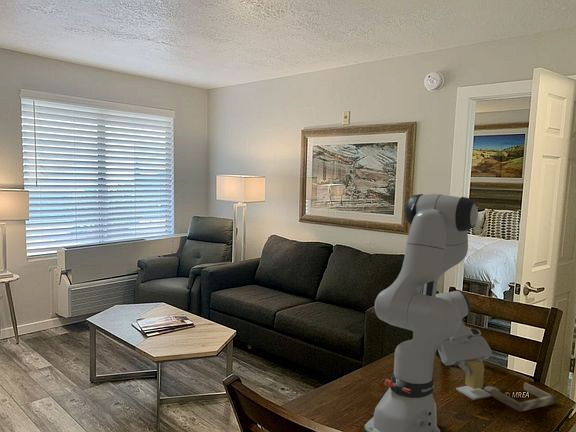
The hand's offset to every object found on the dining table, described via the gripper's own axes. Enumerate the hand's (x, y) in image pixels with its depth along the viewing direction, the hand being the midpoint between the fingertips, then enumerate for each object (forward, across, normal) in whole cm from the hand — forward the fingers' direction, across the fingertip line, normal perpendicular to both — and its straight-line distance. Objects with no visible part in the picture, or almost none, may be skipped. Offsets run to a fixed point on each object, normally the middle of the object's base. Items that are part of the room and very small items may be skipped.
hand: (476, 373), depth 152 cm
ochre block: (+3, 0, +4) cm, 5 cm away
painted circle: (+5, +8, +5) cm, 11 cm away
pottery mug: (-12, +11, +23) cm, 28 cm away
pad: (+5, 0, +5) cm, 7 cm away
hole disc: (+1, +6, +9) cm, 11 cm away
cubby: (+11, +12, -1) cm, 16 cm away
